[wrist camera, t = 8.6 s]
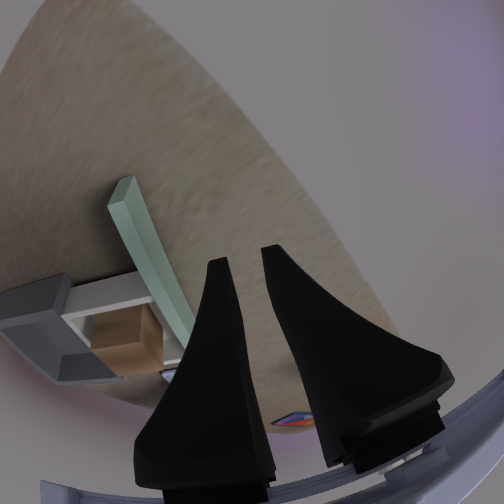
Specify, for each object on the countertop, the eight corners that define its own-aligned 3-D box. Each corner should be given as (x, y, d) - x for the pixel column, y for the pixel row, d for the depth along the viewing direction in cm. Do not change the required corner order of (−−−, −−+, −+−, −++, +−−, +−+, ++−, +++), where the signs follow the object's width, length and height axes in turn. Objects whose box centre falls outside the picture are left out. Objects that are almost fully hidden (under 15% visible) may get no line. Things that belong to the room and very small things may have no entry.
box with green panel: (201, 331, 26) (205, 361, 24) (116, 347, 26) (114, 376, 23) (134, 174, 16) (123, 200, 13) (24, 217, 15) (4, 246, 12)
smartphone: (294, 409, 52) (295, 413, 51) (329, 412, 60) (330, 415, 59) (269, 421, 54) (270, 425, 54) (306, 423, 63) (307, 426, 62)
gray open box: (124, 349, 27) (122, 381, 24) (61, 357, 26) (57, 385, 23) (65, 272, 19) (52, 308, 16) (1, 292, 19) (-12, 323, 16)
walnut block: (163, 327, 24) (163, 370, 21) (121, 335, 24) (118, 376, 20) (143, 295, 21) (140, 341, 18) (98, 305, 21) (89, 349, 18)
